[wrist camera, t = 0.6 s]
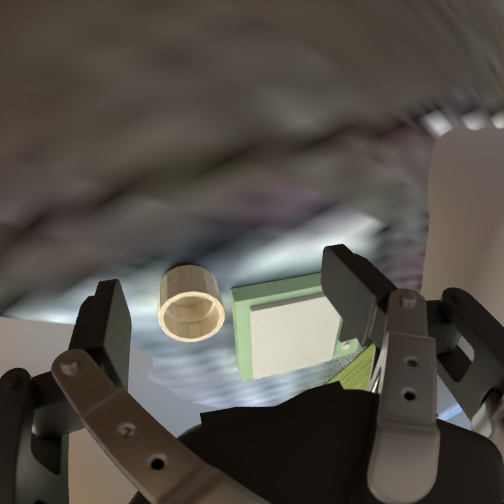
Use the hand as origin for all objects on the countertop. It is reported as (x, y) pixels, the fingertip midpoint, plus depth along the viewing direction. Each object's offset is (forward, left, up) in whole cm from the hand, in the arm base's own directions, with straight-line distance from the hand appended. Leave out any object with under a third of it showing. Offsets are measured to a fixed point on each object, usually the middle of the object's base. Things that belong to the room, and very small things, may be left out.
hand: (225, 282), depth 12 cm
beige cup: (+12, -2, -18) cm, 22 cm away
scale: (+20, +11, -18) cm, 29 cm away
